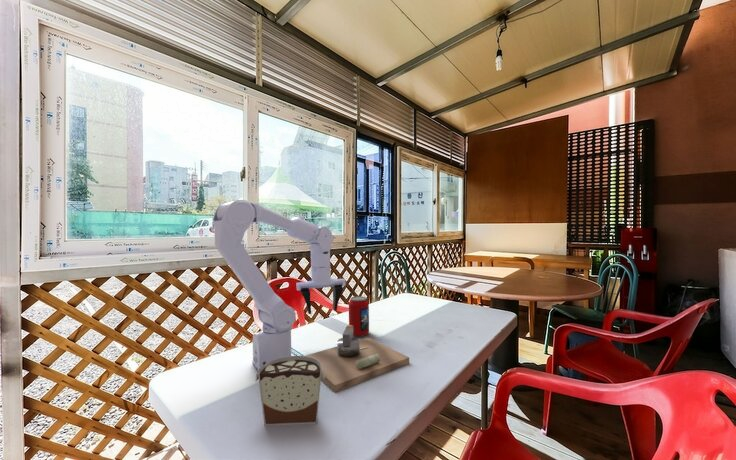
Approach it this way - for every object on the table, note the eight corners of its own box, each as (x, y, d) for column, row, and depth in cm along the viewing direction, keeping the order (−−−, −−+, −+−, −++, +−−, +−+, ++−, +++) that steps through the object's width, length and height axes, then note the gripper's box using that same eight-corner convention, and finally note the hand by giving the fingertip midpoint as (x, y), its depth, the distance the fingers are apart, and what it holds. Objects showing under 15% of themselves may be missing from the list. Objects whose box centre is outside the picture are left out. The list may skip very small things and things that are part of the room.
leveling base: (335, 392, 62) (334, 375, 62) (301, 362, 77) (301, 349, 77) (409, 363, 75) (409, 349, 75) (368, 342, 90) (368, 331, 90)
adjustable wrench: (273, 343, 89) (288, 338, 93) (273, 346, 89) (288, 341, 93) (294, 357, 79) (310, 352, 82) (294, 361, 79) (310, 355, 82)
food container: (328, 403, 59) (327, 353, 59) (325, 423, 52) (324, 367, 52) (266, 405, 58) (265, 355, 58) (255, 426, 52) (255, 370, 52)
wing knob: (358, 358, 75) (357, 333, 75) (335, 357, 75) (334, 333, 75) (360, 347, 82) (360, 325, 82) (339, 346, 82) (339, 324, 82)
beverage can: (369, 337, 94) (368, 300, 94) (348, 337, 94) (347, 300, 94) (369, 330, 101) (368, 295, 101) (349, 330, 101) (349, 295, 101)
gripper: (341, 263, 93) (342, 305, 94) (295, 266, 89) (296, 310, 89) (346, 265, 87) (348, 311, 87) (296, 269, 82) (298, 317, 82)
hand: (322, 311), depth 88 cm, fingers open, 7 cm apart
